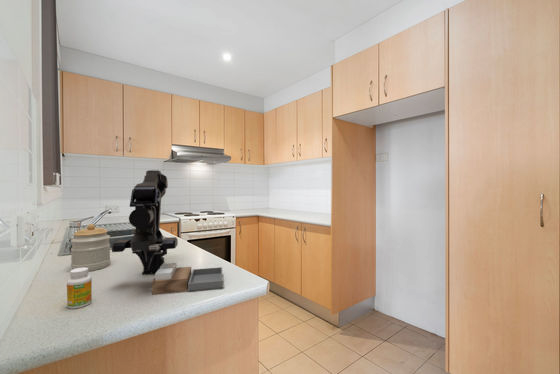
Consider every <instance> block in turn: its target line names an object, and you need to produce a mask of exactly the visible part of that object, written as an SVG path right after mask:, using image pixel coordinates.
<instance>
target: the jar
mask: <svg viewBox="0 0 560 374" xmlns="http://www.w3.org/2000/svg"><path fill="white" fill-rule="evenodd" d="M108 231H109V230H107V229H105V228H103V227H96V226H95V224H94V223H89V224H88V225H87V226H86V228H84V229H83V228H82V229H79V230H77V231H76V232H74V233H73V236H74V237H73V238H72V239H70V242H71V243H72V245H71V248H70V251H71V262H70V268H71V270H73V269H77V268H88V272H93V271H97V270H102V269H105V268H107V267H109V266H110V265H111V262H112V261H111V243H110V241H109V240H110V238H111V235H110V234H108Z"/></svg>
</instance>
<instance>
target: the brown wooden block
mask: <svg viewBox="0 0 560 374" xmlns="http://www.w3.org/2000/svg"><path fill="white" fill-rule="evenodd" d="M191 273H192V266H185V267H183V266H181V267H177V269H176V271H175V273H174V275H173V276H172V278H171V279H166V280H155V277H154V278H153V279H152V281H151V294H152V296H153V295H162V294H163V295H166V294H172V293H173V294H174V293H175V292H176V293H183V292H188V282H189V279H190V276H191Z"/></svg>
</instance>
